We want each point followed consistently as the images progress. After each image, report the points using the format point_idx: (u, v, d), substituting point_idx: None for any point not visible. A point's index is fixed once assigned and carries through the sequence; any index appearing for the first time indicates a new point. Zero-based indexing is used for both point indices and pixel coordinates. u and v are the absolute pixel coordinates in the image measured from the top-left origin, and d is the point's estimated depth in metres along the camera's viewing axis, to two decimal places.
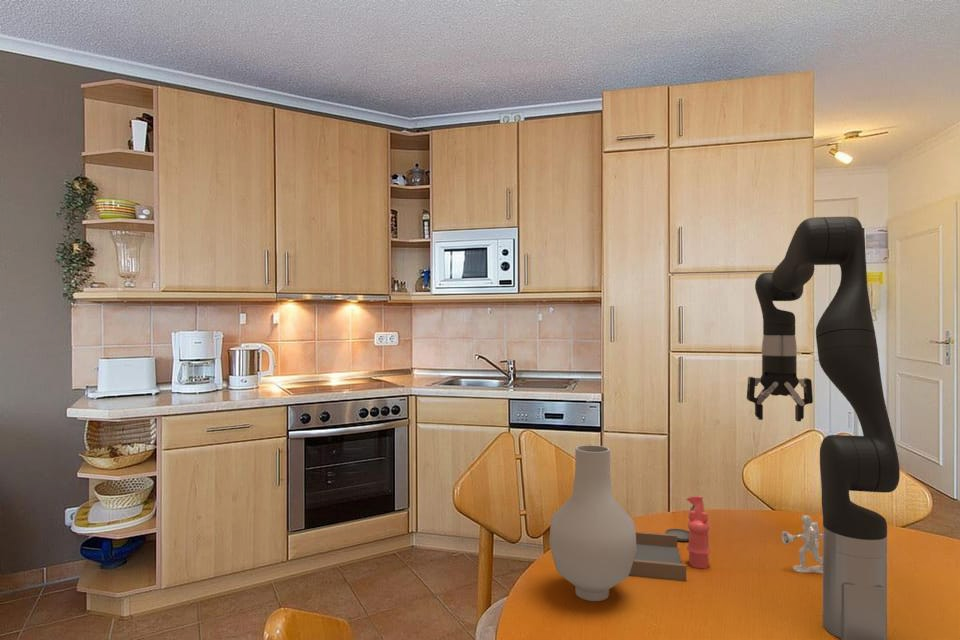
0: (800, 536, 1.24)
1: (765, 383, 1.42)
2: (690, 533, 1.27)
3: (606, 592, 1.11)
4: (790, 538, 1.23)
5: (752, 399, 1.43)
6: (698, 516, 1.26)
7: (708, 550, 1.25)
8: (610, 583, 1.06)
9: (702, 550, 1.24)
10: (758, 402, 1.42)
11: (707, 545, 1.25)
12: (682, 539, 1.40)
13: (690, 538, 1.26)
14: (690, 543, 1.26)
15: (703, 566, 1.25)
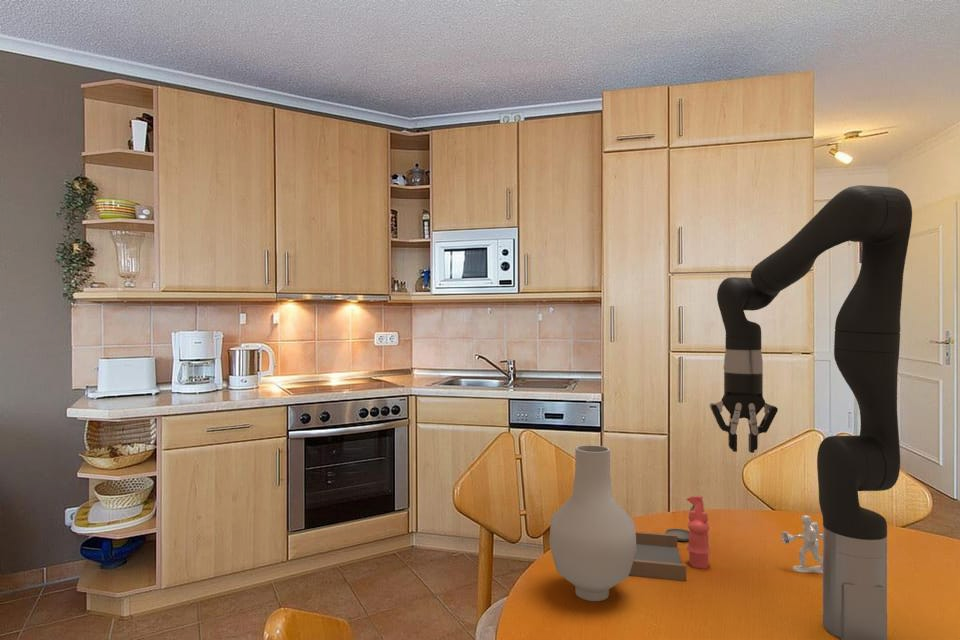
0: (800, 536, 1.24)
1: (729, 404, 1.24)
2: (690, 533, 1.27)
3: (606, 592, 1.11)
4: (790, 538, 1.23)
5: (725, 427, 1.24)
6: (698, 516, 1.26)
7: (708, 550, 1.25)
8: (610, 583, 1.06)
9: (702, 550, 1.24)
10: (732, 432, 1.24)
11: (707, 545, 1.25)
12: (682, 539, 1.40)
13: (690, 538, 1.26)
14: (690, 543, 1.26)
15: (703, 566, 1.25)
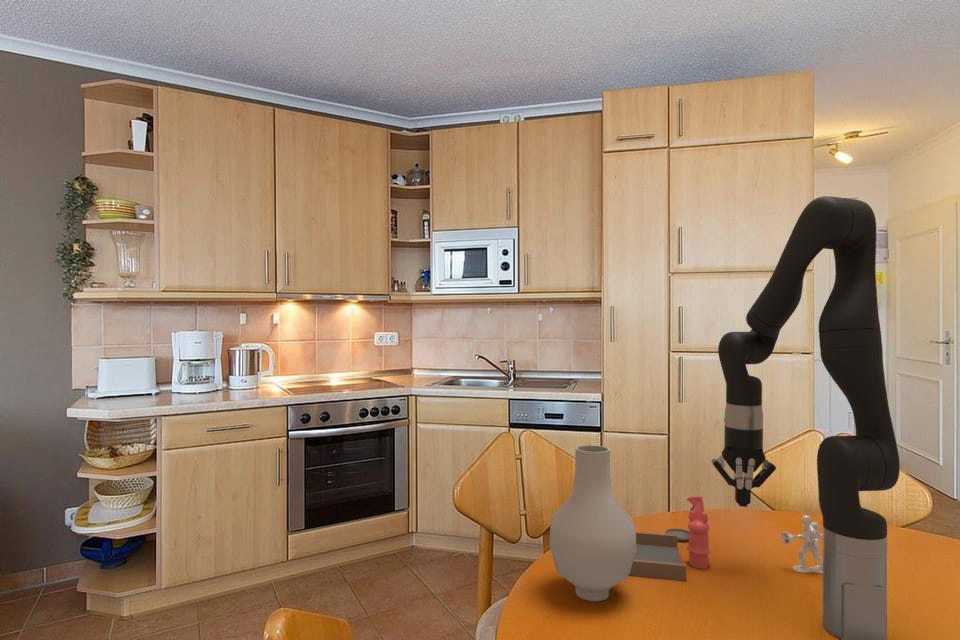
0: (800, 536, 1.24)
1: (730, 459, 1.24)
2: (690, 533, 1.27)
3: (606, 592, 1.11)
4: (790, 538, 1.23)
5: (732, 482, 1.24)
6: (698, 516, 1.26)
7: (708, 550, 1.25)
8: (610, 583, 1.06)
9: (702, 550, 1.24)
10: (739, 487, 1.24)
11: (707, 545, 1.25)
12: (682, 539, 1.40)
13: (690, 538, 1.26)
14: (690, 543, 1.26)
15: (703, 566, 1.25)
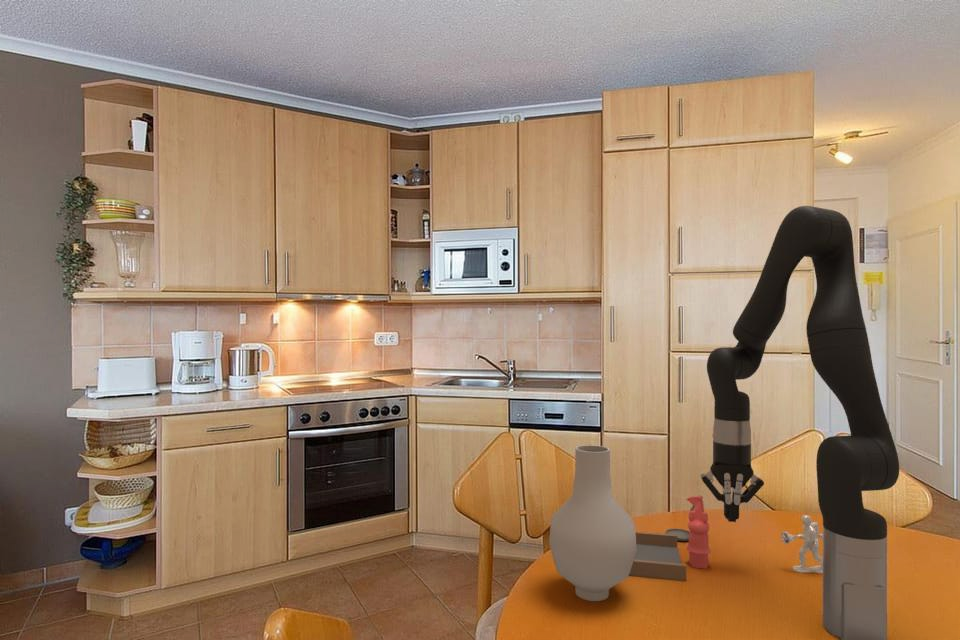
0: (800, 536, 1.24)
1: (718, 474, 1.25)
2: (690, 533, 1.27)
3: (606, 592, 1.11)
4: (790, 538, 1.23)
5: (720, 497, 1.25)
6: (698, 516, 1.26)
7: (708, 550, 1.25)
8: (610, 583, 1.06)
9: (702, 550, 1.24)
10: (728, 502, 1.24)
11: (707, 545, 1.25)
12: (682, 539, 1.40)
13: (690, 538, 1.26)
14: (690, 543, 1.26)
15: (703, 566, 1.25)
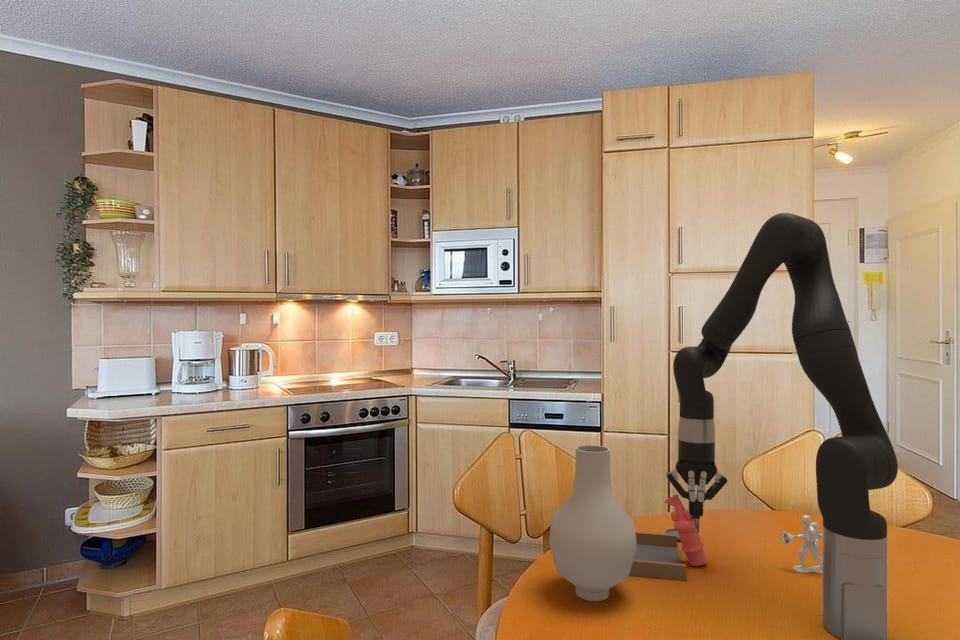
0: (800, 536, 1.24)
1: (683, 471, 1.27)
2: (679, 534, 1.27)
3: (606, 592, 1.11)
4: (790, 538, 1.23)
5: (684, 494, 1.26)
6: (680, 515, 1.26)
7: (701, 545, 1.25)
8: (610, 583, 1.06)
9: (695, 547, 1.25)
10: (692, 499, 1.26)
11: (698, 540, 1.25)
12: None
13: (681, 539, 1.27)
14: (682, 544, 1.26)
15: (702, 562, 1.25)
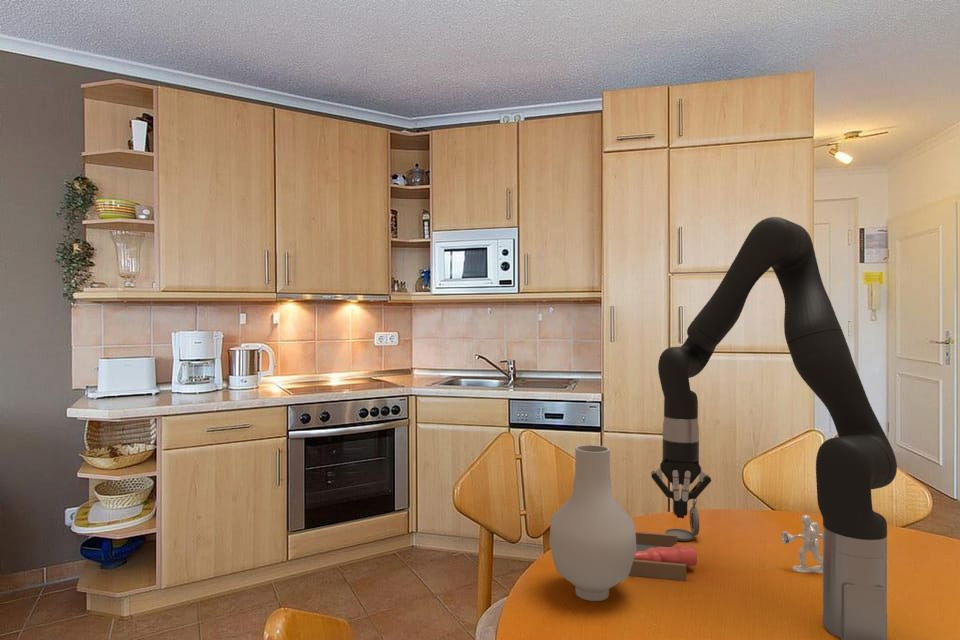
0: (800, 536, 1.24)
1: (667, 471, 1.27)
2: None
3: (606, 592, 1.11)
4: (790, 538, 1.23)
5: (669, 494, 1.27)
6: None
7: None
8: (610, 583, 1.06)
9: None
10: (676, 499, 1.27)
11: None
12: (682, 539, 1.40)
13: None
14: None
15: (693, 565, 1.23)
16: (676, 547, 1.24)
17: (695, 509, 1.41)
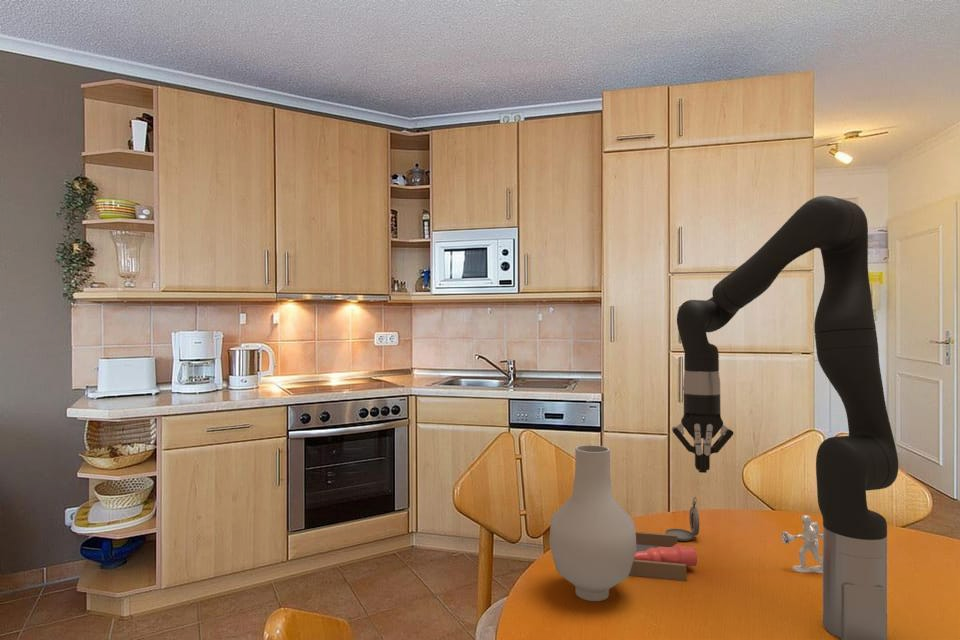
0: (800, 536, 1.24)
1: (688, 425, 1.26)
2: None
3: (606, 592, 1.11)
4: (790, 538, 1.23)
5: (691, 448, 1.26)
6: None
7: None
8: (610, 583, 1.06)
9: None
10: (698, 453, 1.26)
11: None
12: (682, 539, 1.40)
13: None
14: None
15: (693, 565, 1.23)
16: (676, 547, 1.23)
17: (695, 509, 1.41)
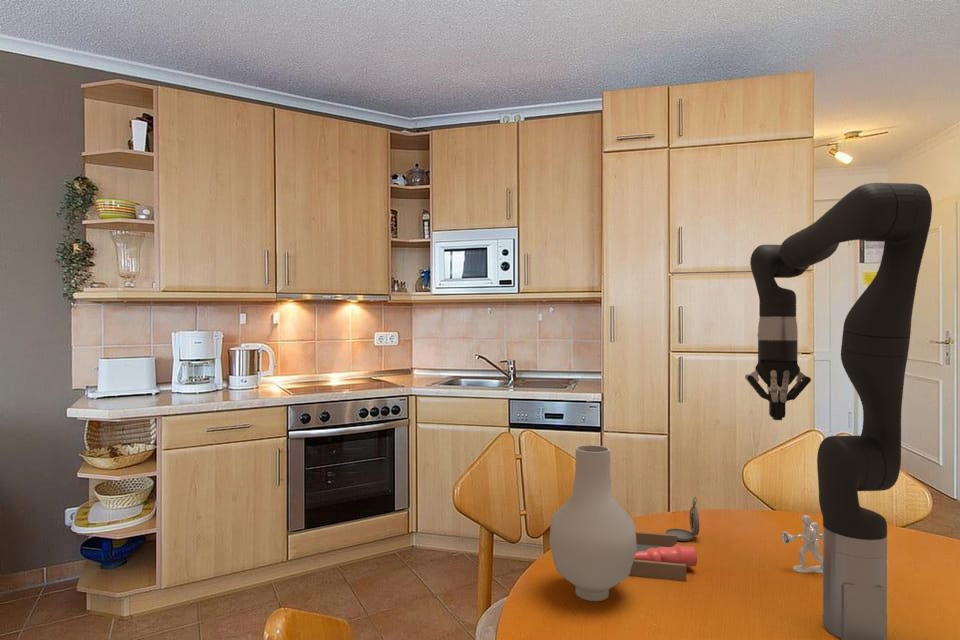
0: (800, 536, 1.24)
1: (764, 372, 1.24)
2: None
3: (606, 592, 1.11)
4: (790, 538, 1.23)
5: (766, 395, 1.24)
6: None
7: None
8: (610, 583, 1.06)
9: None
10: (774, 400, 1.23)
11: None
12: (682, 539, 1.40)
13: None
14: None
15: (693, 565, 1.23)
16: (676, 547, 1.23)
17: (695, 509, 1.41)
